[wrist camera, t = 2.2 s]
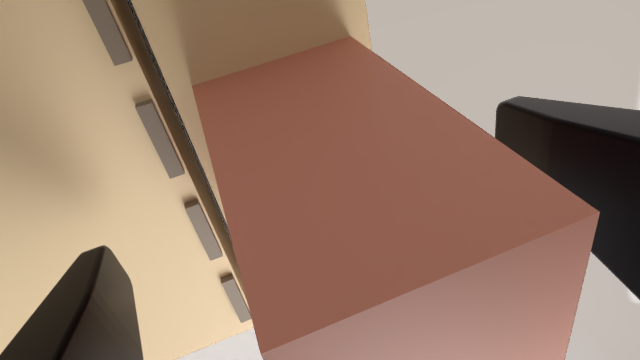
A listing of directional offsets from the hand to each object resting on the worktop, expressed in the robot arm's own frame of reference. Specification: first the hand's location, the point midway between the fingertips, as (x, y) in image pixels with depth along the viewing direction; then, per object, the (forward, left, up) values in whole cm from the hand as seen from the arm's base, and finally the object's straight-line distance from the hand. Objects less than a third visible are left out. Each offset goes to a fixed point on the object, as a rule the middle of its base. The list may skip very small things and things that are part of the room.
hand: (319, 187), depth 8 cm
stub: (0, 0, -4) cm, 4 cm away
